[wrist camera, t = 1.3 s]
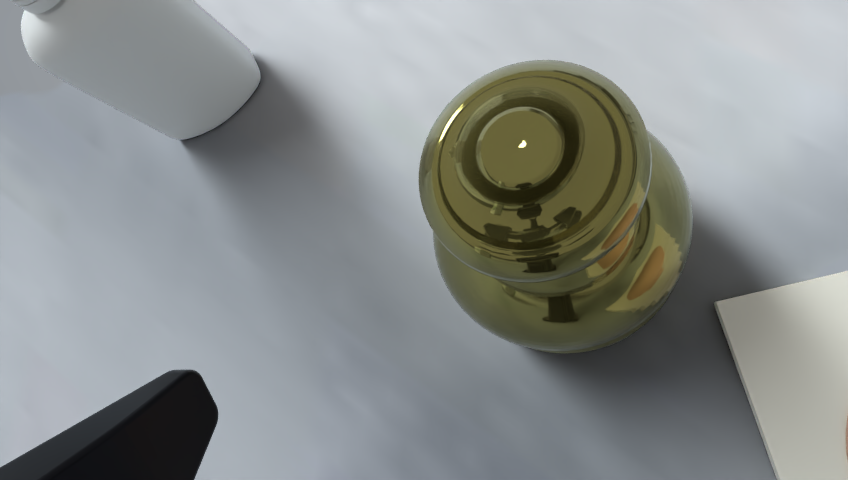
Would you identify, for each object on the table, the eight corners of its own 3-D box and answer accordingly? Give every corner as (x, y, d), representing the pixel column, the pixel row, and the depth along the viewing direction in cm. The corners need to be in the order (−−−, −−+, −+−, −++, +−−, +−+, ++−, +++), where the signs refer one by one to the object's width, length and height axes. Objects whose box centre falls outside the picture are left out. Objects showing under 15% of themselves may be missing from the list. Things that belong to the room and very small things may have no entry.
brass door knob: (428, 251, 22) (287, 163, 13) (568, 115, 21) (525, -83, 12) (564, 401, 19) (508, 426, 10) (730, 248, 18) (836, 123, 9)
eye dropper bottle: (174, 66, 29) (-105, -126, 18) (268, 46, 27) (21, -181, 16) (164, 145, 28) (-139, -6, 17) (261, 131, 26) (-7, -49, 15)
